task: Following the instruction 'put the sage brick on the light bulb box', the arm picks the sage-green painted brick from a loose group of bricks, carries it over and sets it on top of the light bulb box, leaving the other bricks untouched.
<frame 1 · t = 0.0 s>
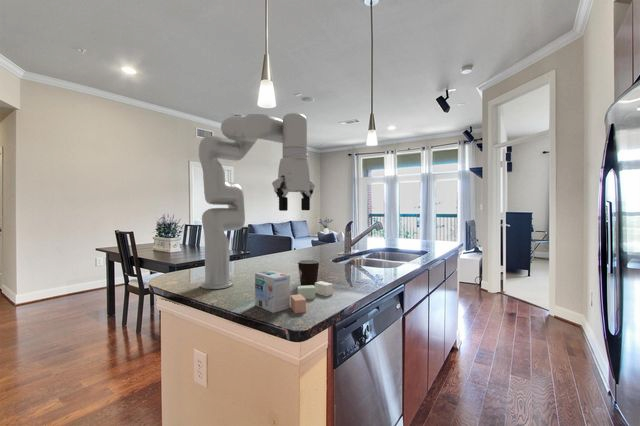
hand: (294, 210, 96), 31 cm above the counter, tool pointing down, fingers open, 9 cm apart
light bulb box: (272, 307, 100), on the counter
brick sage: (306, 298, 109), on the counter
brick terracotta: (298, 309, 97), on the counter
coffee mug: (308, 285, 127), on the counter
brick cream: (323, 293, 115), on the counter
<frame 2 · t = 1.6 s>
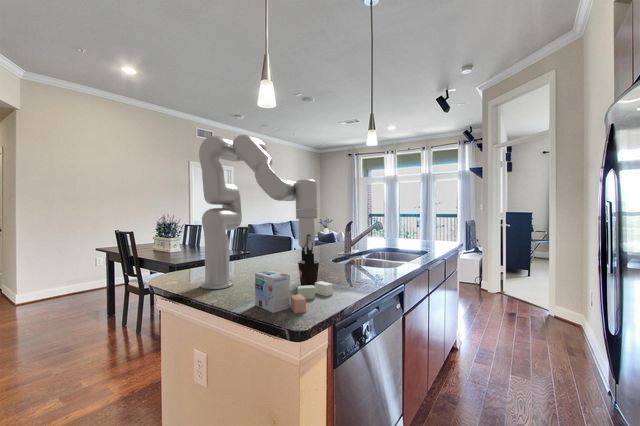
hand: (307, 263, 109), 12 cm above the counter, tool pointing down, fingers open, 9 cm apart
nothing on the counter moved.
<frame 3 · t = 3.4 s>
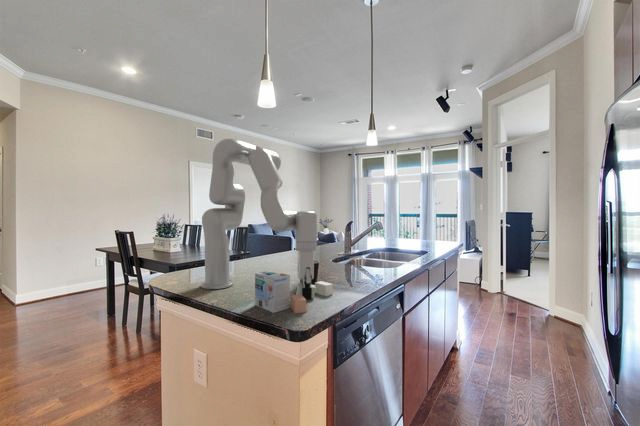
hand: (306, 296, 109), 0 cm above the counter, tool pointing down, fingers closed on brick sage, 3 cm apart
brick sage: (304, 296, 109), on the counter, tilted 10°, touching gripper
everything else where it was.
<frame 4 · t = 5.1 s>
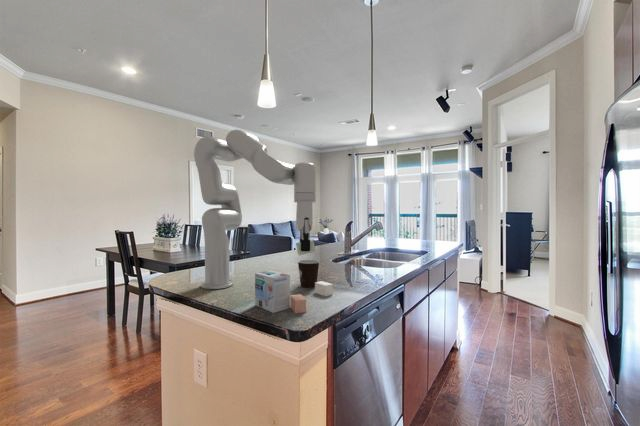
hand: (304, 249, 109), 17 cm above the counter, tool pointing down, fingers closed on brick sage, 3 cm apart
brick sage: (306, 252, 109), point 16 cm above the counter, tilted 13°, touching gripper
everything else where it was.
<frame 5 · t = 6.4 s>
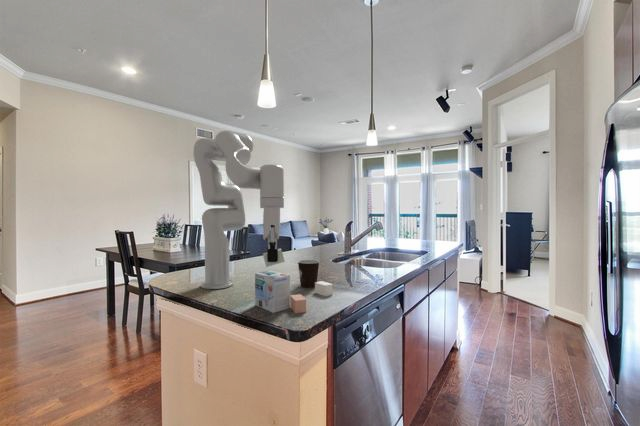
hand: (272, 260, 99), 15 cm above the counter, tool pointing down, fingers closed on brick sage, 3 cm apart
brick sage: (275, 263, 99), point 14 cm above the counter, tilted 15°, touching gripper
everything else where it was.
when the fingers open (13 cm above the counter, at t = 7.0 s): brick sage stays where it is, resting on light bulb box.
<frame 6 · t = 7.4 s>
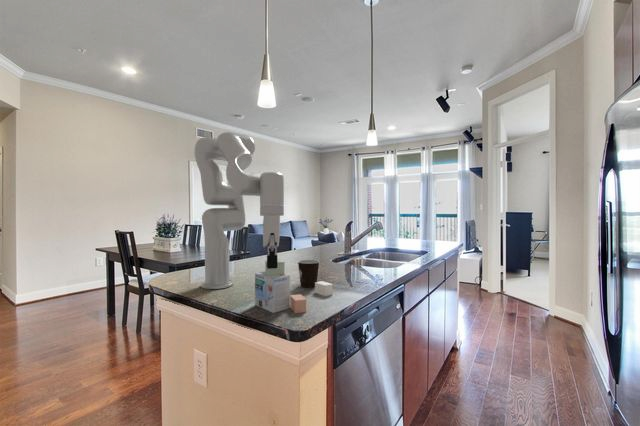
hand: (272, 265, 99), 13 cm above the counter, tool pointing down, fingers open, 7 cm apart
light bulb box: (272, 307, 100), on the counter, touching brick sage
brick sage: (274, 273, 100), point 11 cm above the counter, touching light bulb box
everything else where it was.
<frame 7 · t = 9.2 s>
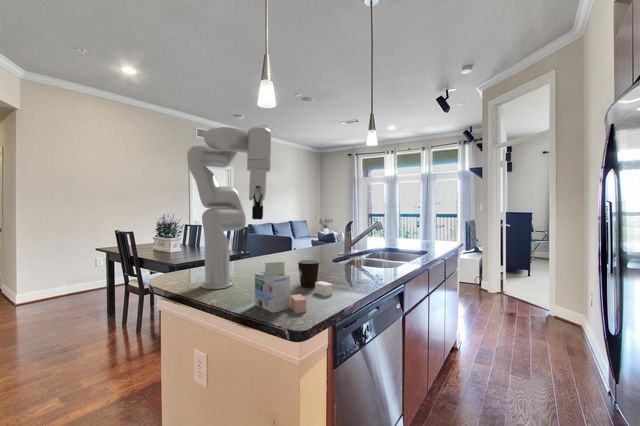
hand: (257, 218, 102), 29 cm above the counter, tool pointing down, fingers open, 9 cm apart
nothing on the counter moved.
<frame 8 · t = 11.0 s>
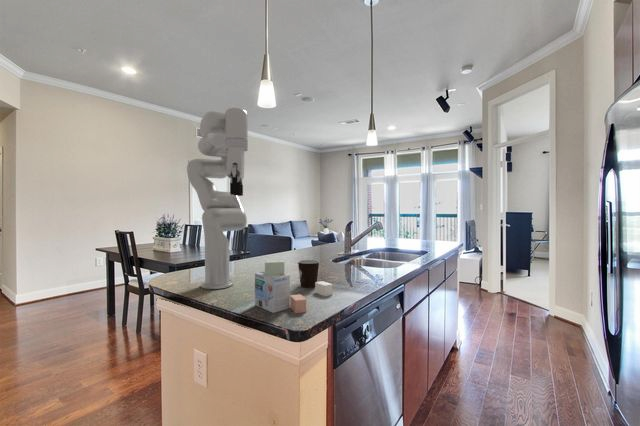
hand: (236, 195, 107), 36 cm above the counter, tool pointing down, fingers open, 9 cm apart
nothing on the counter moved.
at the end: brick sage inside the target area on the light bulb box (0.8 cm from its centre), point 11.0 cm above the light bulb box's base; brick sage tilted 0°; brick terracotta moved 0.2 cm from its start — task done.
